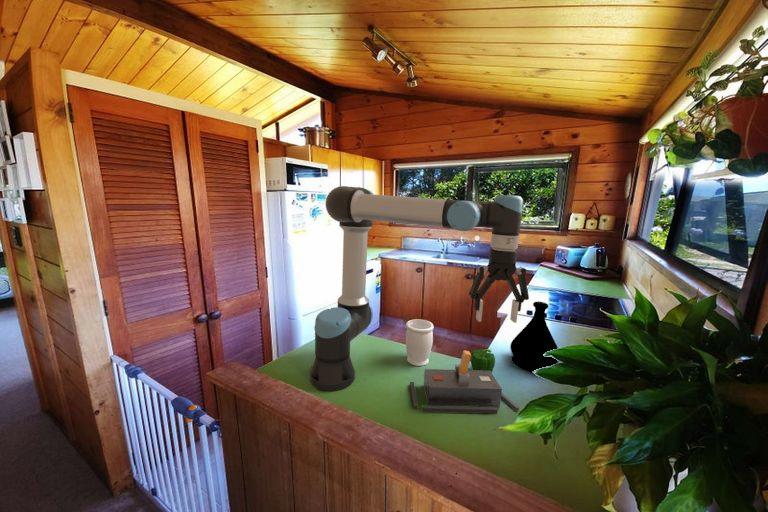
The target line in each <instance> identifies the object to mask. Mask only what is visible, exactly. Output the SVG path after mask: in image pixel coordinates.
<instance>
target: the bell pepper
mask: <svg viewBox="0 0 768 512" xmlns="http://www.w3.org/2000/svg"><path fill="white" fill-rule="evenodd" d="M491 352H492V350H491V349H489V348H486V349H484V348H483V349H473V350H472V352H471V353H470V354H471V358H470V365H471V370H481V371H491V373H492V372H493V370H494V368H495V364H496V356H495V354H494V353H491ZM492 374H493V373H492Z"/></svg>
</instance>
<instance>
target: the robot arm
mask: <svg viewBox="0 0 768 512" xmlns="http://www.w3.org/2000/svg"><path fill="white" fill-rule="evenodd" d="M523 202H524V200H523V198H522V197H521V196H520V195H502V194H500V195H499V194H498V195H496V196H495V197H494V201H476V200H459V199H458V200H457V199H442V198H429V197H425V198H424V197H413V196H402V195H401V196H399V195H385V194H374V193H373V192H372V191H371V190H369V189H367V188H364V187H360V186H347V185H341V186H337V187H334V188H333V189H331V191H329V192H328V194H327V196H326V198H325V209H326V212H327V214H328V215H329V217H330V218H332V219H333V220H334V221H336V222H338V223H339V224H338V225H339V227H340V228H341V229H342V231H343V239H342V240H343V241H342V243H343V244H342V247H343V248H342V273H341V274H342V277H341V278H342V280H341V281H342V283H341V285H342V286H341V295H340V296H339V297H338V298H337V306H336V307H335V306H334V307H331V308H325V309H323V310H322V311H320V312H318V313H317V315H316V317H315V321H314V348H315V350H314V351H315V353H314V355H315V356H314V360H313V364H312V366H311V369H310V371H309V381H310V384H311V385H312V386H313V387H314V388H316V389H318V390H321V391H326V392H333V391H340V390H343V389H346V388H347V387H349V386H351V385H352V384H353V382H354V380H355V379H356V377H355V376H356V370H355V367H354V364H353V362H352V359H351V342H352V341H353V340H354V339H355V338H357V337H358V336H359V335H361V334H362V333H363V332H364V331H366V330H367V329H368V328H369V326H370V325H371V324H372V322H373V319H374V311H373V308H372V307H371V304H370V299H369V297H367V295H366V284H367V282H366V281H367V280H366V279H367V258H368V257H367V256H368V235H369V231H370V230H371V229H372V228H373V222H374V221H375V222H376V221H377V222H383V223H384V222H386V223H394V224H395V223H396V224H404V225H405V224H406V225H414V226H424V227H435V228H444V229H454V230H456V231H458V232H459V231H460V232H467V231H471V230H472V229H474V228H488V229H489V228H491V239H490V244H489V245H490V247H491V249H490V250H489V258H488V264H487V265H485V266H483V265H479V264H478V265H477V270H476V271H477V272H476V275H475V277H474V280H473V282H472V284H471V287H470V290H469V292H468V296H469V297H471V299H474V303H473V309H474V310H475V311H476V315H475V319H476V320H477V322H479V323H481V322H482V318H483V307H484V306H483V305H484V300H483V299H482V298H483V297H484V295H485V294H486V293H487V291H488V290H489V289H490V287H491V286H492V284H493V283H495V282H496V281H504V282H505V281H506V282H507V284H508V285H509V288H510V290H511V292H512V294H513V296H514V298H513V299H512V302H511V310H510V321H512V323H514V324H515V323H516V324H517V322H518V321H517V320H518V314H519V312H521V310H522V303H524V302H525V301H527V300H529V299H530V296H529V290H528V285H527V279H526V274H527V269H526V268H525V267H523V266H519V267H518V266H516V264H517V258H518V251H517V249H518V248H519V241H520V231H521V225H522V215H523V204H524V203H523ZM487 272H488V275H487V277H486V279H485V280H484V282H483V283H482V281H483V278H484V275H485V274H486V273H487ZM515 272H516V274H517V281H518V284H519V285H518V286H519V289H518V286H517V284H516V281H515V279H514V277H513V276H514V274H515ZM481 284H482V285H481Z"/></svg>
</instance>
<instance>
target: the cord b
mask: <svg viewBox="0 0 768 512" xmlns="http://www.w3.org/2000/svg"><path fill="white" fill-rule="evenodd" d="M409 387H410V392H411V393H410V394H411V398H412V399H411V401H412V406H413V410H419V404H418V398H417V393H416V392H417V391H416V387H415V382H414V381H409Z"/></svg>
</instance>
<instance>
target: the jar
mask: <svg viewBox="0 0 768 512" xmlns="http://www.w3.org/2000/svg"><path fill="white" fill-rule="evenodd" d="M405 325H406V328H407V329H406V332H405V346H406V348H405V349H406V353H407V357H406V359H407V362H408V363H409V364H410V365H413V366H417V367H422V366H425V365H428V364H429V362H430V361H429V360H430V359H429V357H430V355H431V351H432V348H433V341H434V335H433V334H434V333H433V330H434V326H435V325H434V324H433V323H432V322H431V321H429V320H426V319H419V318H418V319H417V318H414V319H411V320H408V321H407V322H406V324H405Z"/></svg>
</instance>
